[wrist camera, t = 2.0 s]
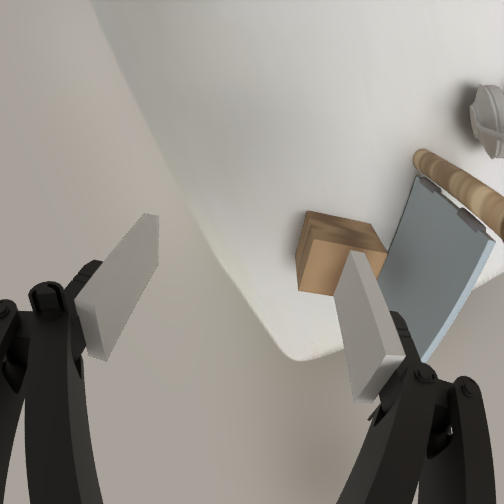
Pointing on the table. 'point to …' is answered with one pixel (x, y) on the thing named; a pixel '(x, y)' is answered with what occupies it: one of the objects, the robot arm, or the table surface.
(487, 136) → the headphones
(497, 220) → the brown long wooden part
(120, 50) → the table surface
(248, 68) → the table surface
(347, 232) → the walnut block
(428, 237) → the door
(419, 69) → the table surface
